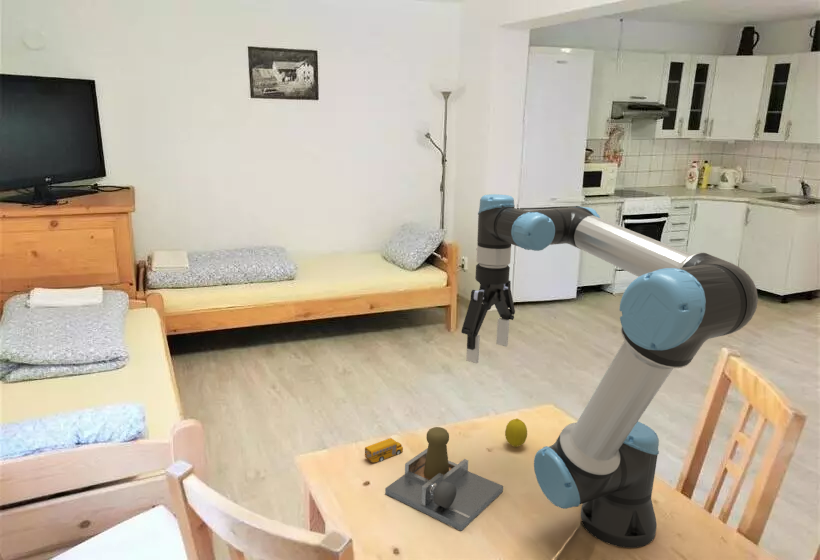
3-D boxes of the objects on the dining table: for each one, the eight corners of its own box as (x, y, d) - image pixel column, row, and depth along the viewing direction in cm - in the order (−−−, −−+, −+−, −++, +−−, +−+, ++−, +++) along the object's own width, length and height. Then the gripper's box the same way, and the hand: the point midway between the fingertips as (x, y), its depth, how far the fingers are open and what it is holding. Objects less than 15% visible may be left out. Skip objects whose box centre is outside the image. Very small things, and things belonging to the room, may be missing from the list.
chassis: (502, 491, 137) (504, 468, 136) (460, 531, 124) (462, 505, 122) (430, 461, 149) (431, 439, 147) (385, 494, 135) (385, 470, 134)
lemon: (500, 443, 158) (502, 415, 156) (519, 440, 160) (522, 412, 157) (510, 454, 153) (512, 425, 151) (529, 451, 154) (532, 422, 152)
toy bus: (403, 453, 152) (403, 439, 151) (371, 465, 147) (371, 451, 146) (395, 447, 155) (396, 434, 154) (364, 460, 149) (364, 446, 148)
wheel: (455, 501, 130) (456, 480, 129) (442, 512, 126) (443, 491, 125) (444, 496, 132) (445, 476, 131) (431, 507, 128) (432, 486, 127)
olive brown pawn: (431, 463, 145) (432, 421, 142) (453, 470, 142) (455, 427, 139) (418, 475, 140) (419, 432, 137) (442, 483, 137) (443, 439, 134)
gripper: (505, 253, 148) (499, 335, 153) (447, 271, 128) (444, 364, 134) (533, 257, 143) (526, 342, 149) (478, 277, 124) (473, 373, 129)
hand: (487, 353), depth 141 cm, fingers open, 13 cm apart
